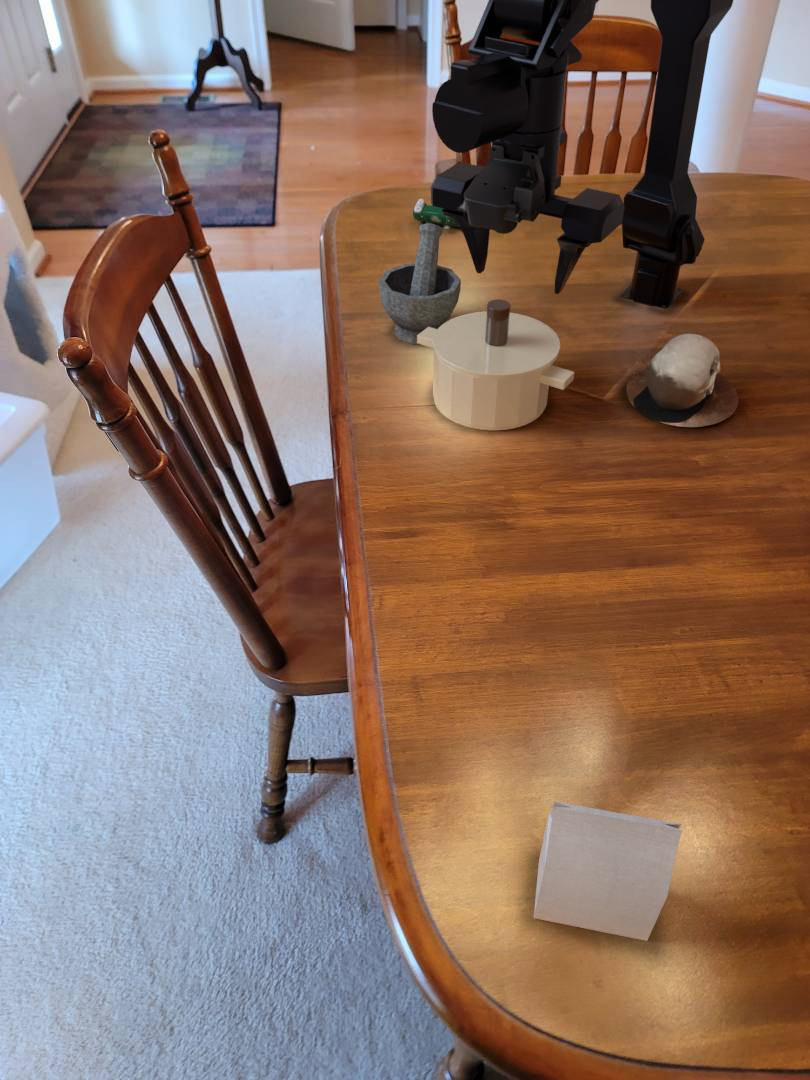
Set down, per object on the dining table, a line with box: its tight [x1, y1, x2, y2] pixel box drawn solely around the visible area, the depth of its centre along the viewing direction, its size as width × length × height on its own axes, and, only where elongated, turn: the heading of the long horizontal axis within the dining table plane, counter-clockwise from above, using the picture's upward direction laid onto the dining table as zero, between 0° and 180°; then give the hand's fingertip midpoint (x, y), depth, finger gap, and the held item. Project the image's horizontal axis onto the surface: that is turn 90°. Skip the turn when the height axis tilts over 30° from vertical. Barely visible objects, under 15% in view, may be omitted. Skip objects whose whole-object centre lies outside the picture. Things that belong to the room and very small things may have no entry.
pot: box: [417, 327, 575, 431], centre depth 91 cm, size 13×18×6 cm
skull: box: [625, 333, 740, 428], centre depth 92 cm, size 12×10×10 cm
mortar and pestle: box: [378, 223, 462, 345], centre depth 101 cm, size 11×9×12 cm
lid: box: [432, 299, 561, 379], centre depth 88 cm, size 14×14×5 cm
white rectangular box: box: [533, 801, 683, 942], centre depth 48 cm, size 4×7×10 cm, turn 78°
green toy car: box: [412, 198, 460, 230], centre depth 128 cm, size 9×4×6 cm
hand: (518, 282), depth 88 cm, fingers open, 9 cm apart
